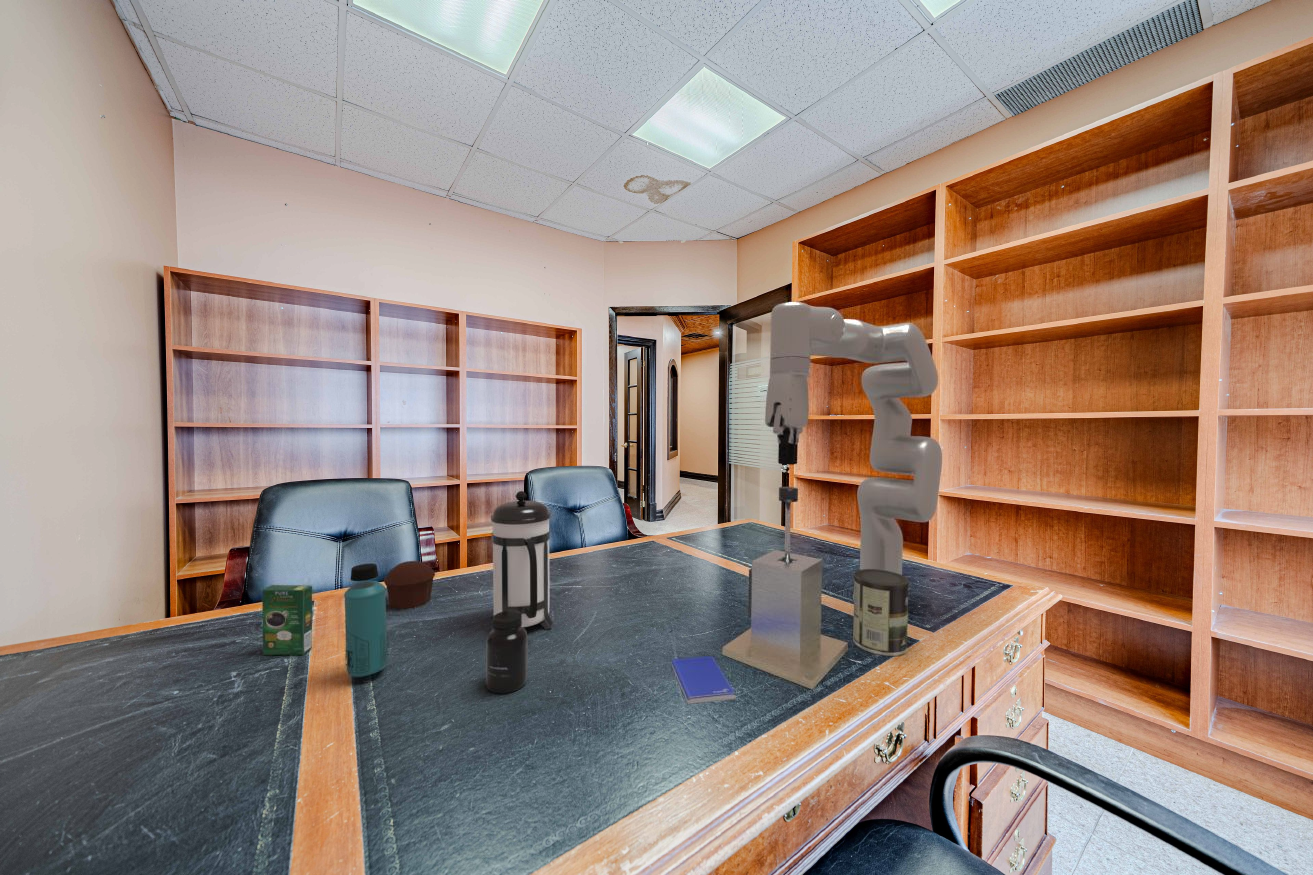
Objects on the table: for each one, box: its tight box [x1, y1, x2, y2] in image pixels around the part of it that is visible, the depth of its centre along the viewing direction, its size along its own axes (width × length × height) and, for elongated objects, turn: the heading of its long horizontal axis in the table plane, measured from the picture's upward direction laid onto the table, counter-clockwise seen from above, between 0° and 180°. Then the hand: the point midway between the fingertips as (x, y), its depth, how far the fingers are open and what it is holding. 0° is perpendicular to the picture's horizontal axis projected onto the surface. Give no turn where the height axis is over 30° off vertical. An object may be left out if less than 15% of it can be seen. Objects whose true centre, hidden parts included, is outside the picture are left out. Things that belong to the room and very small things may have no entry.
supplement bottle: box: [485, 611, 528, 695], centre depth 81 cm, size 7×7×12 cm
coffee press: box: [490, 490, 554, 631], centre depth 103 cm, size 17×16×30 cm
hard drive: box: [670, 656, 737, 705], centre depth 83 cm, size 2×8×12 cm
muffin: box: [383, 560, 436, 610], centre depth 117 cm, size 12×11×10 cm
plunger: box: [778, 486, 799, 563], centre depth 92 cm, size 7×7×16 cm
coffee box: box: [261, 584, 313, 656], centre depth 92 cm, size 8×3×13 cm, turn 92°
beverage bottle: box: [343, 563, 389, 678], centre depth 83 cm, size 6×7×20 cm
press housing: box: [722, 549, 849, 690], centre depth 92 cm, size 18×18×18 cm
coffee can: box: [852, 569, 910, 657], centre depth 96 cm, size 10×10×14 cm
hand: (787, 463), depth 91 cm, fingers closed
